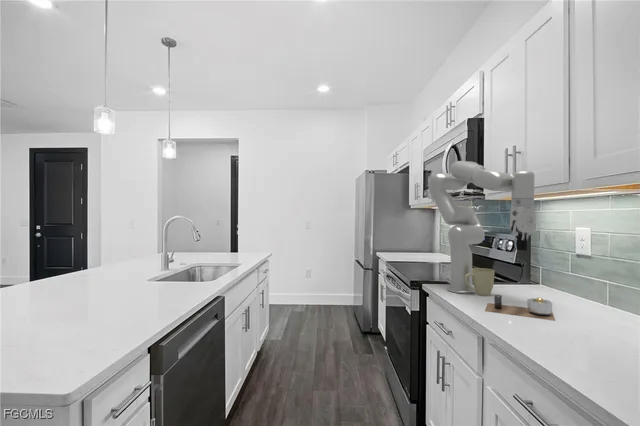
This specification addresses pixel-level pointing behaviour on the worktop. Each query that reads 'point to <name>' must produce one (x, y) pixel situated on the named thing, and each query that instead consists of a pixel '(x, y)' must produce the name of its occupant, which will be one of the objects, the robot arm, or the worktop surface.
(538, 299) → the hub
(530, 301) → the white octagonal block
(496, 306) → the stand rod
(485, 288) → the mug
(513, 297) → the worktop surface
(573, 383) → the worktop surface
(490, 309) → the base board
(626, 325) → the worktop surface
